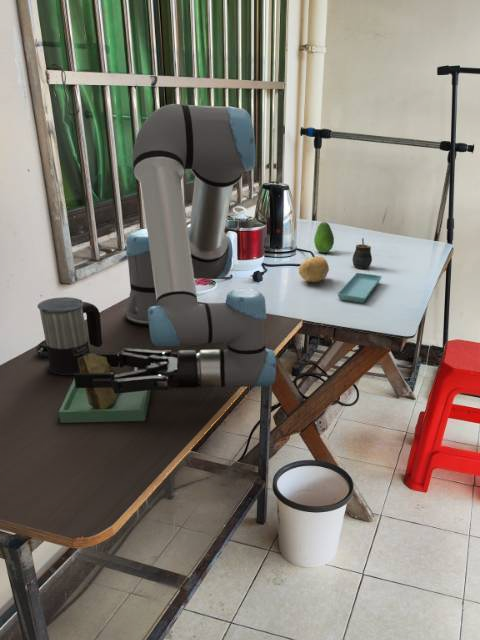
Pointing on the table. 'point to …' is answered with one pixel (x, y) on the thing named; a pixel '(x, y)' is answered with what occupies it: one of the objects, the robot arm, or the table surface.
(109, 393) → the rock
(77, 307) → the milk frother
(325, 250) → the avocado
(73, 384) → the green tray
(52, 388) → the table surface
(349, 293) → the rectangular tray
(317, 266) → the potato
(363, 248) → the mate gourd
